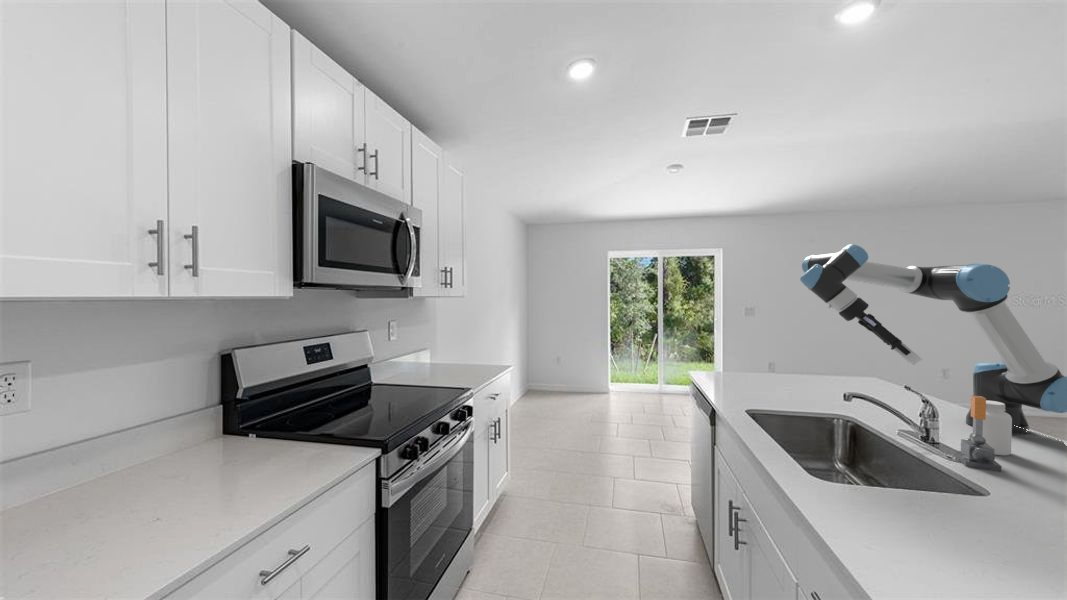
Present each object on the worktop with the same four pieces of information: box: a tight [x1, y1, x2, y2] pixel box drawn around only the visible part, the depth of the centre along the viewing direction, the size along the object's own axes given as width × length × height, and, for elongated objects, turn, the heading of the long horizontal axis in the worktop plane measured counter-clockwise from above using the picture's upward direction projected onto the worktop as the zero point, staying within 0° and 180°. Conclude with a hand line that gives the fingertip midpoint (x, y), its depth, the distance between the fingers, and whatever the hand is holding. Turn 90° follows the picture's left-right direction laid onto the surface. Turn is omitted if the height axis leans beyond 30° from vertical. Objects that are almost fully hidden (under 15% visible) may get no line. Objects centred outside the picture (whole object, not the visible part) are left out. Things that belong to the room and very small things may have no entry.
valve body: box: [954, 438, 1002, 472], centre depth 119 cm, size 7×9×6 cm
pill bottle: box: [983, 400, 1013, 456], centre depth 128 cm, size 8×8×15 cm
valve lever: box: [968, 394, 986, 445], centre depth 119 cm, size 2×3×13 cm
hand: (915, 360), depth 126 cm, fingers open, 4 cm apart
